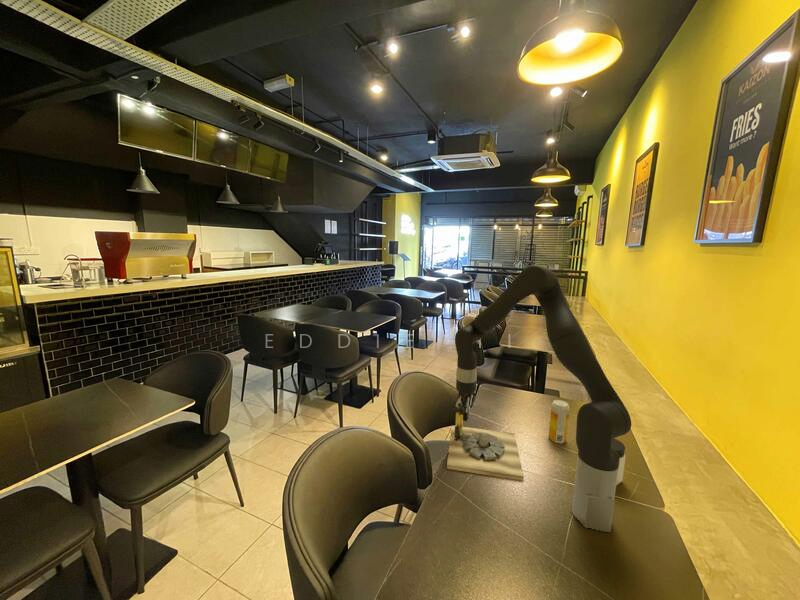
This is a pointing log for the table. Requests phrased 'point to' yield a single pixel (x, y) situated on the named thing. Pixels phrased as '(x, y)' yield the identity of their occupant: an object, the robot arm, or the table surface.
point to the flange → (472, 441)
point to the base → (464, 462)
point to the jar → (620, 450)
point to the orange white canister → (559, 421)
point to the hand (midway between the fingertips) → (464, 419)
